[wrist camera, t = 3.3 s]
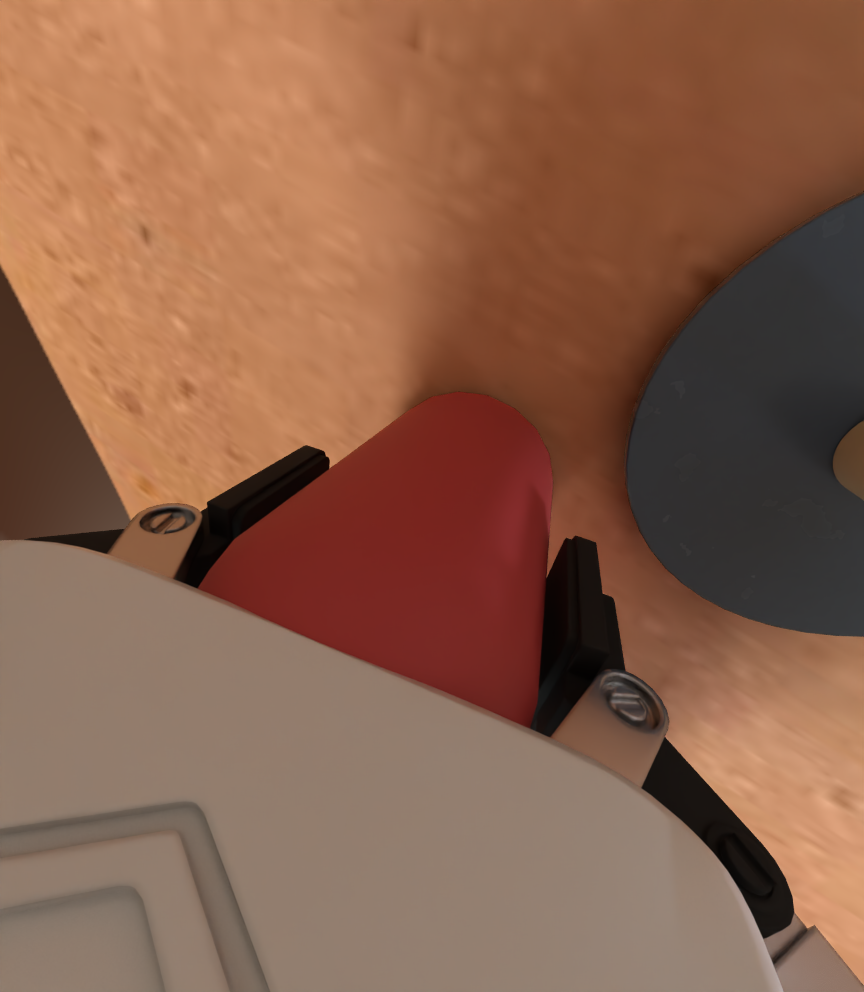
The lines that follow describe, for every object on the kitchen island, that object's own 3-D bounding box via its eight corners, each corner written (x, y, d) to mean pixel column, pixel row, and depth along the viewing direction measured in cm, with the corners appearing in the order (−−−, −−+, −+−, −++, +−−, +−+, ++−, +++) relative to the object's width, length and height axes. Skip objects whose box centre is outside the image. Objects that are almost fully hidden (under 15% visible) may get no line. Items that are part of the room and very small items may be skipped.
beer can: (365, 483, 18) (83, 751, 7) (440, 350, 14) (108, 502, 4) (488, 568, 18) (380, 950, 7) (592, 456, 14) (661, 879, 4)
